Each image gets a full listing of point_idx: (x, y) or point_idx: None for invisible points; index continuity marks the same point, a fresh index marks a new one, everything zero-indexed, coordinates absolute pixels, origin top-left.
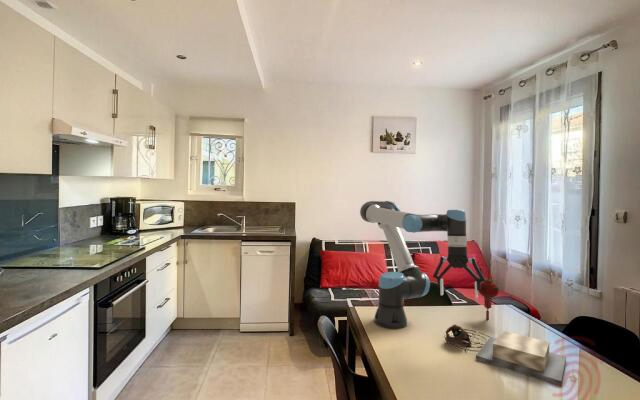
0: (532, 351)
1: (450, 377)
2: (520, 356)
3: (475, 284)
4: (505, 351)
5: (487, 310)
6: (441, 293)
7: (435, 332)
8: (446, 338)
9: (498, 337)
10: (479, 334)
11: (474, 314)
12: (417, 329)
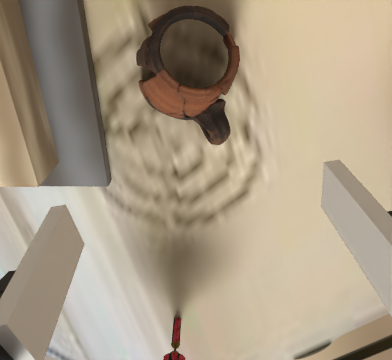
0: None
1: None
2: None
3: (7, 307)
4: None
5: (175, 346)
6: (337, 169)
7: (296, 119)
8: (229, 33)
9: (7, 98)
10: (156, 205)
11: (219, 332)
12: (373, 98)
